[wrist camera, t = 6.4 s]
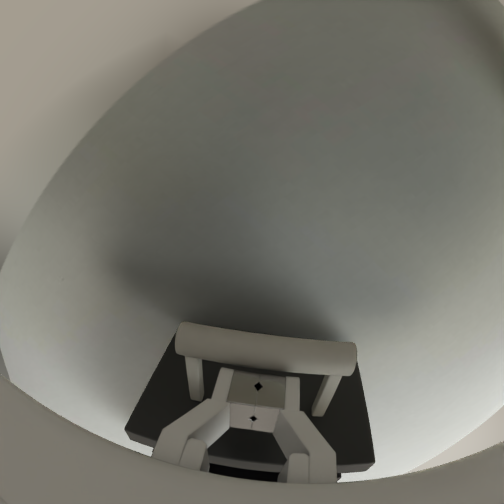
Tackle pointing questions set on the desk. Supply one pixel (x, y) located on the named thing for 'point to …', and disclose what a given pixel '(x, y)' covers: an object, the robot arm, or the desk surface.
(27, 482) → the robot arm
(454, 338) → the desk surface
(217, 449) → the drawer
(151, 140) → the desk surface
